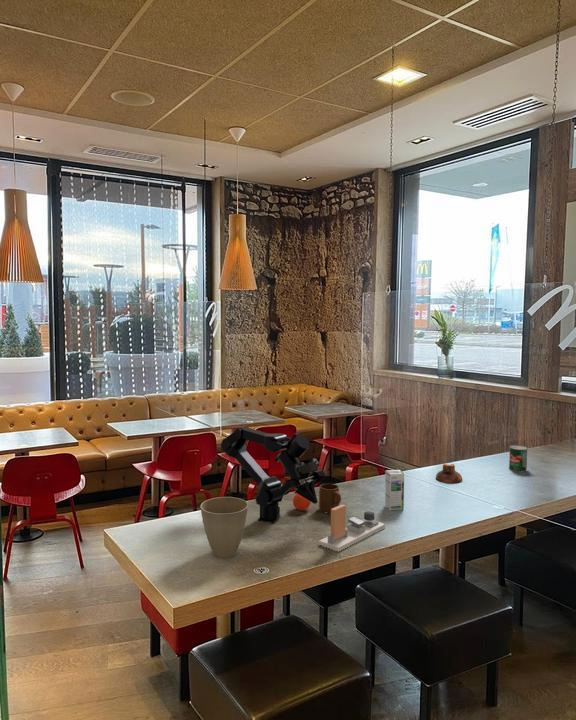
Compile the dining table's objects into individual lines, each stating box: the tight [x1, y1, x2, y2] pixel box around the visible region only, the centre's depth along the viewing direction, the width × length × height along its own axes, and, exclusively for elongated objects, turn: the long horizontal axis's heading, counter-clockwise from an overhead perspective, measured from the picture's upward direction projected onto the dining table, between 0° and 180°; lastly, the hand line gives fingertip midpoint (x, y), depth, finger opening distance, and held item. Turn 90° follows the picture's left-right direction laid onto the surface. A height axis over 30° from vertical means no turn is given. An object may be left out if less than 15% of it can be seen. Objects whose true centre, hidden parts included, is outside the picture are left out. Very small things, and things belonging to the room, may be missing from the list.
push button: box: [363, 510, 375, 521], centre depth 201 cm, size 4×4×2 cm
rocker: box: [347, 516, 364, 527], centre depth 195 cm, size 4×3×1 cm
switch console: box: [318, 518, 386, 553], centre depth 194 cm, size 8×27×4 cm, turn 138°
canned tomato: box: [508, 444, 528, 473], centre depth 274 cm, size 8×8×11 cm
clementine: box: [292, 493, 312, 511], centre depth 219 cm, size 8×7×7 cm
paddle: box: [330, 504, 347, 541], centre depth 188 cm, size 2×6×11 cm, turn 138°
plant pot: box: [199, 496, 249, 559], centre depth 180 cm, size 15×15×16 cm
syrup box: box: [384, 469, 405, 511], centre depth 222 cm, size 6×6×14 cm
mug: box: [318, 483, 342, 514], centre depth 217 cm, size 12×8×9 cm, turn 25°
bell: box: [435, 463, 463, 484], centre depth 259 cm, size 12×12×7 cm
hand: (316, 503), depth 194 cm, fingers closed
